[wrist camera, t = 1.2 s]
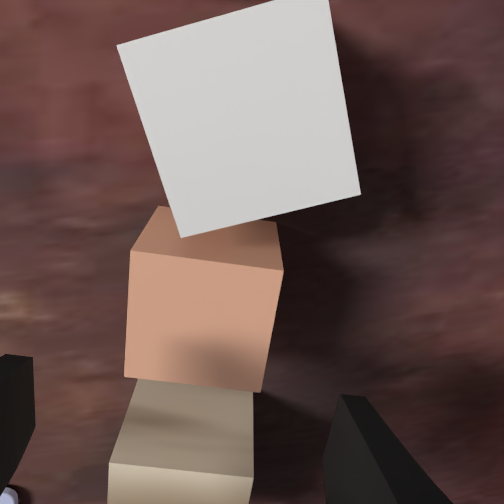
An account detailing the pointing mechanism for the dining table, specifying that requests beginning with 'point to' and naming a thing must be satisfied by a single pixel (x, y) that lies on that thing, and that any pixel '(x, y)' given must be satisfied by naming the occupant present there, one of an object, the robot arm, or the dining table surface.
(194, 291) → the terracotta cube
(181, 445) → the birch cube
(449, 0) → the dining table surface
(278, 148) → the white cube
